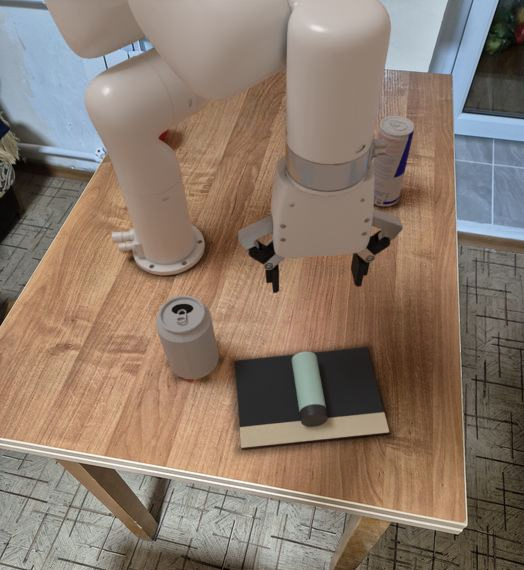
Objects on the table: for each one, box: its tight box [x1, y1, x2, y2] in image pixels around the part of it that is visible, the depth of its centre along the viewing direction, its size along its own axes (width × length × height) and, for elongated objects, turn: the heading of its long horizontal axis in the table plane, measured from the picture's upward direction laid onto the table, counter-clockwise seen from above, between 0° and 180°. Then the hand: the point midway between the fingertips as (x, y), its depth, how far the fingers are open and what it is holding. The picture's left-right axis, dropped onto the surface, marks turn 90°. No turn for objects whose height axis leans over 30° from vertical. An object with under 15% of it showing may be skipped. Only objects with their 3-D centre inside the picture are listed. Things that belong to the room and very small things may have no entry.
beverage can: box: [372, 115, 415, 208], centre depth 89 cm, size 6×6×15 cm
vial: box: [292, 351, 328, 427], centre depth 71 cm, size 10×4×4 cm, turn 5°
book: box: [234, 346, 390, 450], centre depth 73 cm, size 20×14×1 cm
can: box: [155, 294, 220, 380], centre depth 72 cm, size 8×8×12 cm
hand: (315, 280), depth 60 cm, fingers open, 9 cm apart
